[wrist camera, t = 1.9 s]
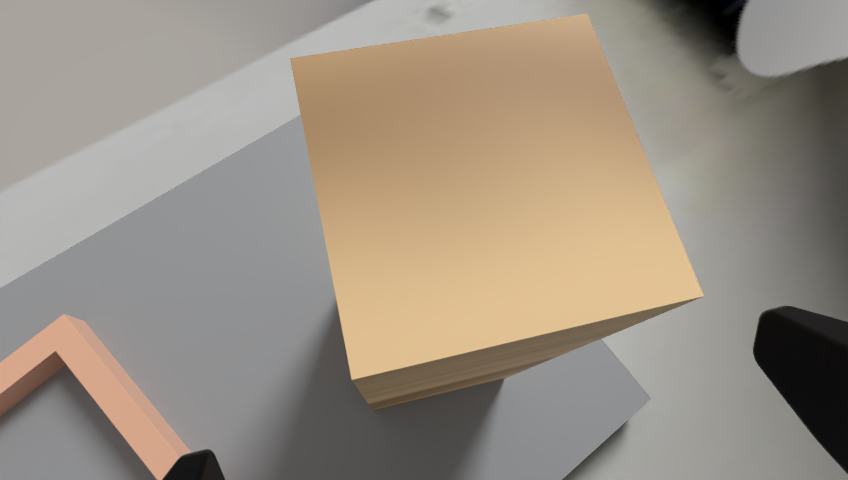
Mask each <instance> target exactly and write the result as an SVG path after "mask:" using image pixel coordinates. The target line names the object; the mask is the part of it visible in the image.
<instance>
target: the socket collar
mask: <svg viewBox="0 0 848 480" xmlns="http://www.w3.org/2000/svg"><path fill="white" fill-rule="evenodd" d="M65 365H67V366H68V367H69V368H70V370H71V371H72V372H73V373H74V375H75V376H76V377H77V379H78V380H79V381H80V382H81V384H82V385H83V386H84V387H85V389H86V390H87V391H88V393H89V394H90V395H91V396H92V398H93V399H94V400H95V401H96V403H97V404H98V405H99V406H100V408H101V409H102V410H103V412H104V413H105V414H106V415H107V417H108V418H109V419H110V420H111V422H112V423H113V424H114V426H115V427H116V428H117V429H118V431H119V432H120V433H121V434H122V436H123V437H124V438H125V439H126V441H127V442H128V443H129V445H130V446H131V447H132V448H133V450H134V451H135V452H136V453H137V455H138V456H139V457H140V459H141V460H142V461H143V462H144V464H145V465H146V466H147V467H148V469H149V470H150V471H151V472H152V474H153V475H154V476H155V478H156V479H157V480H162V479H163V478H164V476H165V475H166V474H167V473H168V471H169V470H170V469H171V467H172V466H173V465H174V463H175V462H176V461H177V460H178V458H180V457H181V456H182V455H184V454H188V453H191V451H190V450H189V449H188V448H187V446H186V445H185V444H184V443H183V442H182V440H181V439H180V438H179V437H178V435H177V434H176V433H175V432H174V430H173V429H172V428H171V427H170V426H169V424H168V423H167V422H166V421H165V419H164V418H163V417H162V416H161V415H160V413H159V412H158V411H157V410H156V408H155V407H154V406H153V405H152V403H151V402H150V401H149V400H148V399H147V397H146V396H145V395H144V394H143V392H142V391H141V390H140V389H139V387H138V386H137V385H136V384H135V383H134V381H133V380H132V379H131V378H130V376H129V375H128V374H127V373H126V371H125V370H124V369H123V368H122V367H121V365H120V364H119V363H118V362H117V360H116V359H115V358H114V357H113V356H112V354H111V353H110V352H109V351H108V349H107V348H106V347H105V346H104V344H103V343H102V342H101V341H100V340H99V338H98V337H97V336H96V335H95V333H94V332H93V331H92V330H91V328H90V327H89V326H88V325H87V324H86V322H85V321H83V320H80V319H77V318H74V317H72V316H69V315H66V314H63V315H62V316H61V317H59V318H58V319H57V320H55V321H54V322H53V323H51V324H50V325H49V326H47V327H46V328H45V329H44V330H42V331H41V332H40V333H38V334H37V335H36V336H34V337H33V338H32V339H30V340H29V341H28V342H27V343H25V344H24V345H23V346H21V347H20V348H19V349H17V350H16V351H15V352H13V353H12V354H11V355H10V356H8V357H7V358H6V359H4V360H3V361H2V362H0V417H1V416H2V415H3V414H4V413H6V412H7V411H8V410H9V409H11V408H12V407H13V406H14V405H16V404H17V403H18V402H19V401H21V400H22V399H23V398H25V397H26V396H27V395H28V394H30V393H31V392H32V391H33V390H35V389H36V388H37V387H38V386H40V385H41V384H42V383H43V382H45V381H46V380H47V379H48V378H50V377H51V376H52V375H53V374H55V373H56V372H57V371H58V370H60V369H61V368H62V367H63V366H65Z"/></svg>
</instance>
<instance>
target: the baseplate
mask: <svg viewBox="0 0 848 480" xmlns="http://www.w3.org/2000/svg"><path fill="white" fill-rule="evenodd" d="M63 314H66V315H69V316H72V317H74V318H77V319H80V320H83V321H85V322H86V324H87V325H88V326H89V327H90V328H91V330H92V331H93V332H94V333H95V335H96V336H97V337H98V338H99V340H100V341H101V342H102V343H103V344H104V346H105V347H106V348H107V349H108V351H109V352H110V353H111V354H112V356H113V357H114V358H115V359H116V360H117V362H118V363H119V364H120V365H121V367H122V368H123V369H124V370H125V371H126V373H127V374H128V375H129V376H130V378H131V379H132V380H133V381H134V383H135V384H136V385H137V386H138V387H139V389H140V390H141V391H142V392H143V394H144V395H145V396H146V397H147V399H148V400H149V401H150V402H151V403H152V405H153V406H154V407H155V408H156V410H157V411H158V412H159V413H160V415H161V416H162V417H163V418H164V419H165V421H166V422H167V423H168V424H169V426H170V427H171V428H172V429H173V430H174V432H175V433H176V434H177V435H178V437H179V438H180V439H181V440H182V442H183V443H184V444H185V445H186V446H187V448H188V449H189V450H190V451H191V453H192V452H196V451H200V450H204V449H210V450H212V451H213V453H214V454H215V456H216V458H217V461H218V463H219V466H220V468H221V470H222V473H223V475H224V478H225V480H562V479H563V478H564V477H566V476H567V475H568V474H569V473H570V472H571V471H572V470H573V469H574V468H575V467H577V466H578V465H579V464H580V463H581V462H582V461H583V460H584V459H585V458H586V457H588V456H589V455H590V454H591V453H592V452H593V451H594V450H595V449H596V448H597V447H599V446H600V445H601V444H602V443H603V442H604V441H605V440H606V439H607V438H608V437H610V436H611V435H612V434H613V433H614V432H615V431H616V430H617V429H618V428H619V427H621V426H622V425H623V424H624V423H625V422H626V421H627V420H628V419H629V418H630V417H632V416H633V415H634V414H635V413H636V412H637V411H638V410H639V409H640V408H641V407H643V406H644V405H645V404H646V403H647V402H648V401H649V400H650V399H651V398H650V396H649V395H648V394H647V393H646V392H645V390H644V389H643V388H642V387H641V386H640V385H639V383H638V382H637V381H636V380H635V379H634V377H633V376H632V375H631V374H630V373H629V371H628V370H627V369H626V368H625V367H624V365H623V364H622V363H621V362H620V361H619V359H618V358H617V357H616V356H615V355H614V353H613V352H612V351H611V350H610V349H609V348H608V346H607V345H606V344H605V343H604V342H603V340H602V339H599V340H597V341H594V342H592V343H589V344H587V345H585V346H582V347H580V348H577V349H575V350H573V351H570V352H568V353H565V354H563V355H560V356H558V357H556V358H553V359H551V360H548V361H546V362H544V363H541V364H539V365H536V366H534V367H531V368H529V369H527V370H524V371H522V372H519V373H517V374H515V375H512V376H510V377H507V378H505V379H501V380H497V381H493V382H489V383H485V384H481V385H477V386H473V387H469V388H465V389H461V390H457V391H453V392H449V393H445V394H441V395H436V396H432V397H428V398H424V399H420V400H416V401H412V402H408V403H404V404H400V405H396V406H392V407H388V408H384V409H380V410H376V411H373V410H372V409H371V407H370V406H369V404H368V403H367V401H366V400H365V398H364V397H363V396H362V394H361V393H360V391H359V390H358V388H357V387H356V385H355V384H354V382H353V381H352V379H351V373H350V368H349V363H348V358H347V352H346V347H345V342H344V337H343V332H342V326H341V321H340V316H339V311H338V305H337V300H336V295H335V290H334V285H333V279H332V274H331V269H330V264H329V258H328V253H327V248H326V243H325V238H324V232H323V227H322V222H321V217H320V211H319V206H318V201H317V196H316V191H315V185H314V180H313V175H312V170H311V164H310V159H309V154H308V149H307V144H306V138H305V133H304V128H303V123H302V117H301V115H300V116H298V117H296V118H294V119H293V120H291V121H289V122H287V123H286V124H284V125H282V126H280V127H279V128H277V129H275V130H274V131H272V132H270V133H268V134H267V135H265V136H263V137H261V138H260V139H258V140H256V141H255V142H253V143H251V144H249V145H248V146H246V147H244V148H242V149H241V150H239V151H237V152H235V153H234V154H232V155H230V156H229V157H227V158H225V159H223V160H222V161H220V162H218V163H216V164H215V165H213V166H211V167H209V168H208V169H206V170H204V171H203V172H201V173H199V174H197V175H196V176H194V177H192V178H190V179H189V180H187V181H185V182H183V183H182V184H180V185H178V186H177V187H175V188H173V189H171V190H170V191H168V192H166V193H164V194H163V195H161V196H159V197H157V198H156V199H154V200H152V201H151V202H149V203H147V204H145V205H144V206H142V207H140V208H138V209H137V210H135V211H133V212H132V213H130V214H128V215H126V216H125V217H123V218H121V219H119V220H118V221H116V222H114V223H112V224H111V225H109V226H107V227H106V228H104V229H102V230H100V231H99V232H97V233H95V234H93V235H92V236H90V237H88V238H86V239H85V240H83V241H81V242H80V243H78V244H76V245H74V246H73V247H71V248H69V249H67V250H66V251H64V252H62V253H60V254H59V255H57V256H55V257H54V258H52V259H50V260H48V261H47V262H45V263H43V264H41V265H40V266H38V267H36V268H34V269H33V270H31V271H29V272H28V273H26V274H24V275H22V276H21V277H19V278H17V279H15V280H14V281H12V282H10V283H9V284H7V285H5V286H3V287H2V288H0V362H2V361H3V360H4V359H6V358H7V357H8V356H10V355H11V354H12V353H13V352H15V351H16V350H17V349H19V348H20V347H21V346H23V345H24V344H25V343H27V342H28V341H29V340H30V339H32V338H33V337H34V336H36V335H37V334H38V333H40V332H41V331H42V330H44V329H45V328H46V327H47V326H49V325H50V324H51V323H53V322H54V321H55V320H57V319H58V318H59V317H61V316H62V315H63ZM0 480H157V479H156V478H155V476H154V475H153V474H152V472H151V471H150V470H149V469H148V467H147V466H146V465H145V464H144V462H143V461H142V460H141V459H140V457H139V456H138V455H137V453H136V452H135V451H134V450H133V448H132V447H131V446H130V445H129V443H128V442H127V441H126V439H125V438H124V437H123V436H122V434H121V433H120V432H119V431H118V429H117V428H116V427H115V426H114V424H113V423H112V422H111V420H110V419H109V418H108V417H107V415H106V414H105V413H104V412H103V410H102V409H101V408H100V406H99V405H98V404H97V403H96V401H95V400H94V399H93V398H92V396H91V395H90V394H89V393H88V391H87V390H86V389H85V387H84V386H83V385H82V384H81V382H80V381H79V380H78V379H77V377H76V376H75V375H74V373H73V372H72V371H71V370H70V368H69V367H68V366H67V365H65V366H63V367H62V368H61V369H60V370H58V371H57V372H56V373H55V374H53V375H52V376H51V377H50V378H48V379H47V380H46V381H45V382H43V383H42V384H41V385H40V386H38V387H37V388H36V389H35V390H33V391H32V392H31V393H30V394H28V395H27V396H26V397H25V398H23V399H22V400H21V401H19V402H18V403H17V404H16V405H14V406H13V407H12V408H11V409H9V410H8V411H7V412H6V413H4V414H3V415H2V416H1V417H0Z"/></svg>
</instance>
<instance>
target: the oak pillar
mask: <svg viewBox="0 0 848 480" xmlns="http://www.w3.org/2000/svg"><path fill="white" fill-rule="evenodd" d="M290 60H291V65H292V70H293V76H294V81H295V86H296V91H297V96H298V102H299V107H300V112H301V117H302V123H303V128H304V133H305V138H306V144H307V149H308V154H309V159H310V164H311V170H312V175H313V180H314V185H315V191H316V196H317V201H318V206H319V211H320V217H321V222H322V227H323V232H324V238H325V243H326V248H327V253H328V258H329V264H330V269H331V274H332V279H333V285H334V290H335V295H336V300H337V305H338V311H339V316H340V321H341V326H342V332H343V337H344V342H345V347H346V352H347V358H348V363H349V368H350V373H351V379H352V381H353V382H354V384H355V385H356V387H357V388H358V390H359V391H360V393H361V394H362V396H363V397H364V398H365V400H366V401H367V403H368V404H369V406H370V407H371V409H372V410H373V411H376V410H380V409H384V408H388V407H392V406H396V405H400V404H404V403H408V402H412V401H416V400H420V399H424V398H428V397H432V396H436V395H441V394H445V393H449V392H453V391H457V390H461V389H465V388H469V387H473V386H477V385H481V384H485V383H489V382H493V381H497V380H501V379H505V378H507V377H510V376H512V375H515V374H517V373H519V372H522V371H524V370H527V369H529V368H531V367H534V366H536V365H539V364H541V363H544V362H546V361H548V360H551V359H553V358H556V357H558V356H560V355H563V354H565V353H568V352H570V351H573V350H575V349H577V348H580V347H582V346H585V345H587V344H589V343H592V342H594V341H597V340H599V339H602V338H604V337H606V336H609V335H611V334H614V333H616V332H618V331H621V330H623V329H626V328H628V327H631V326H633V325H635V324H638V323H640V322H643V321H645V320H647V319H650V318H652V317H655V316H657V315H660V314H662V313H664V312H667V311H669V310H672V309H674V308H676V307H679V306H681V305H684V304H686V303H689V302H691V301H693V300H696V299H698V298H701V297H703V296H704V295H703V293H702V290H701V288H700V285H699V283H698V281H697V278H696V276H695V273H694V271H693V268H692V266H691V264H690V261H689V259H688V256H687V254H686V251H685V249H684V247H683V244H682V242H681V239H680V237H679V234H678V232H677V230H676V227H675V225H674V222H673V220H672V217H671V215H670V213H669V210H668V208H667V205H666V203H665V200H664V198H663V196H662V193H661V191H660V188H659V186H658V184H657V181H656V179H655V176H654V174H653V171H652V169H651V167H650V164H649V162H648V159H647V157H646V154H645V152H644V150H643V147H642V145H641V142H640V140H639V137H638V135H637V133H636V130H635V128H634V125H633V123H632V120H631V118H630V116H629V113H628V111H627V108H626V106H625V103H624V101H623V99H622V96H621V94H620V91H619V89H618V87H617V84H616V82H615V79H614V77H613V74H612V72H611V70H610V67H609V65H608V62H607V60H606V57H605V55H604V53H603V50H602V48H601V45H600V43H599V40H598V38H597V36H596V33H595V31H594V28H593V26H592V23H591V21H590V19H589V16H588V14H582V15H576V16H569V17H562V18H556V19H549V20H542V21H536V22H529V23H522V24H516V25H509V26H502V27H496V28H489V29H482V30H476V31H469V32H462V33H456V34H449V35H442V36H436V37H429V38H422V39H416V40H409V41H402V42H396V43H389V44H382V45H376V46H369V47H362V48H356V49H349V50H343V51H336V52H329V53H323V54H316V55H309V56H303V57H296V58H290Z"/></svg>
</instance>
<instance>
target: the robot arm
mask: <svg viewBox="0 0 848 480" xmlns="http://www.w3.org/2000/svg"><path fill="white" fill-rule="evenodd" d="M753 354H754V358H755V360H756V362H757V364H758V365H759V367H760V368H761V369H762V370H763V372H764V373H765V374H766V376H767V377H768V378H769V379H770V381H771V382H772V383H773V385H774V386H775V387H776V389H777V390H778V391H779V392H780V394H781V395H782V396H783V398H784V399H785V400H786V401H787V403H788V404H789V405H790V407H791V408H792V409H793V410H794V412H795V413H796V414H797V416H798V417H799V418H800V419H801V421H802V422H803V423H804V425H805V426H806V427H807V429H808V430H809V431H810V432H811V433H812V435H813V436H814V437H815V438H816V440H817V441H818V442H819V443H820V444H821V445H822V447H823V448H824V449H825V450H826V451H827V452H828V453H829V454H830V456H831V457H832V458H833V459H834V460H835V461H836V462H837V463H838V464H839V465H840V466H841V467H842V469H843V470H844V471H845V472H846V473H847V474H848V322H845V321H842V320H838V319H835V318H831V317H828V316H824V315H820V314H817V313H813V312H810V311H806V310H803V309H799V308H795V307H792V306H781V307H777V308H773V309H769V310H766V311H764V312H763V313H762V314H761V315H760V317H759V321H758V326H757V331H756V336H755V341H754V346H753ZM162 480H225V478H224V475H223V473H222V470H221V468H220V466H219V463H218V461H217V458H216V456H215V454H214V453H213V451H212V450H210V449H204V450H200V451H196V452H192V453H188V454H184V455H182V456H181V457H180V458H178V460H177V461H176V462H175V463H174V465H173V466H172V467H171V469H170V470H169V471H168V473H167V474H166V475H165V476H164V478H163V479H162Z"/></svg>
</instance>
